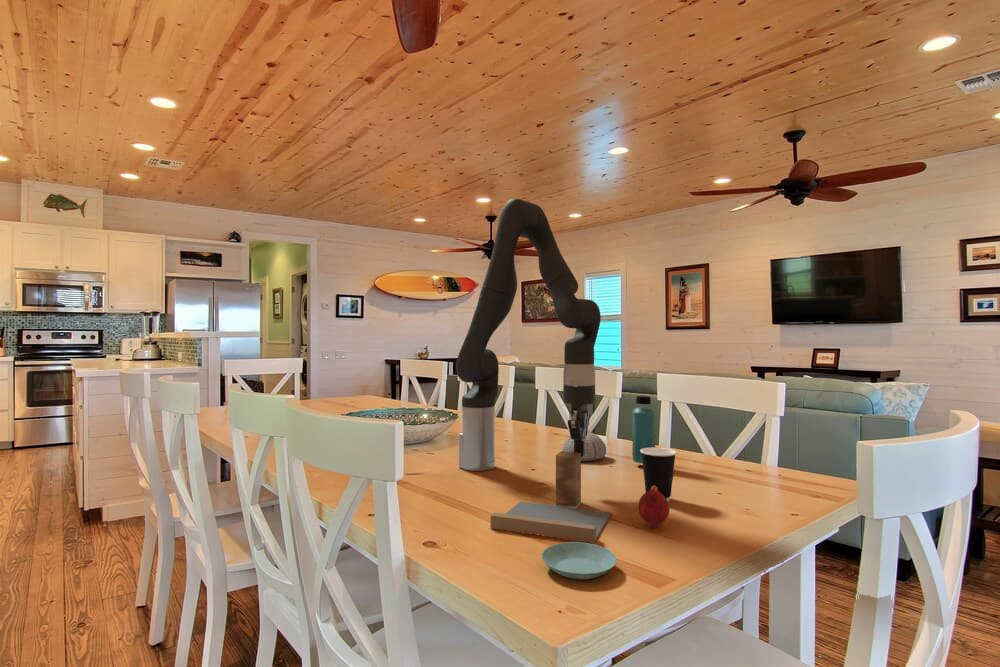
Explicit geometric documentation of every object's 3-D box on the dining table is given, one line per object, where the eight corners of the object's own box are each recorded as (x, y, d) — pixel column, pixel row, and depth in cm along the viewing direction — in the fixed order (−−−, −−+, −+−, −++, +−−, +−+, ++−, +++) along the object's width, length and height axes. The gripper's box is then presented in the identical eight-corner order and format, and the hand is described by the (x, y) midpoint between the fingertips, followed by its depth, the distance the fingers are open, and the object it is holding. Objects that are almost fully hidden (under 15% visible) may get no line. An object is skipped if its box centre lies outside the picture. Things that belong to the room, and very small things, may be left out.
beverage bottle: (658, 469, 152) (658, 397, 152) (634, 469, 152) (634, 397, 152) (652, 463, 158) (652, 394, 158) (629, 463, 158) (629, 394, 158)
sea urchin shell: (561, 462, 160) (561, 435, 160) (563, 452, 173) (563, 427, 173) (607, 464, 158) (607, 436, 158) (606, 454, 171) (606, 428, 171)
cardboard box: (555, 505, 119) (555, 455, 119) (561, 500, 123) (561, 451, 123) (575, 508, 117) (576, 457, 117) (580, 502, 121) (580, 452, 121)
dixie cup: (634, 495, 127) (634, 447, 127) (666, 493, 128) (666, 446, 128) (649, 505, 119) (649, 455, 119) (683, 503, 120) (683, 454, 120)
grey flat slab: (490, 528, 105) (490, 515, 105) (520, 503, 121) (520, 491, 121) (593, 543, 97) (593, 529, 97) (611, 514, 113) (611, 502, 113)
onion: (664, 534, 102) (664, 491, 102) (634, 529, 105) (634, 487, 105) (672, 525, 107) (672, 484, 107) (643, 520, 110) (643, 480, 110)
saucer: (626, 586, 81) (626, 570, 81) (548, 589, 80) (548, 573, 80) (605, 554, 93) (604, 540, 93) (536, 556, 92) (536, 543, 92)
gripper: (570, 380, 137) (570, 449, 137) (556, 384, 125) (556, 460, 125) (600, 381, 134) (600, 451, 134) (588, 385, 122) (588, 463, 122)
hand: (579, 456), depth 129 cm, fingers closed
